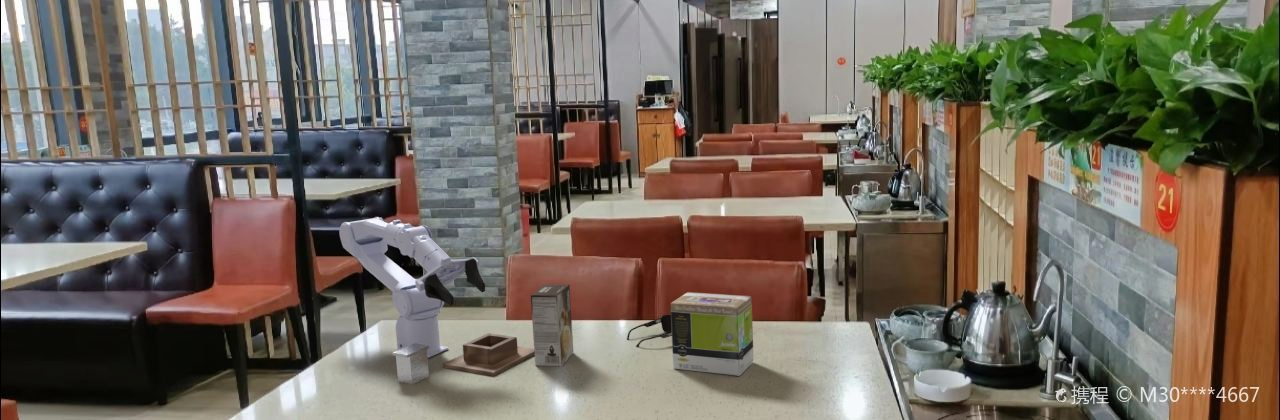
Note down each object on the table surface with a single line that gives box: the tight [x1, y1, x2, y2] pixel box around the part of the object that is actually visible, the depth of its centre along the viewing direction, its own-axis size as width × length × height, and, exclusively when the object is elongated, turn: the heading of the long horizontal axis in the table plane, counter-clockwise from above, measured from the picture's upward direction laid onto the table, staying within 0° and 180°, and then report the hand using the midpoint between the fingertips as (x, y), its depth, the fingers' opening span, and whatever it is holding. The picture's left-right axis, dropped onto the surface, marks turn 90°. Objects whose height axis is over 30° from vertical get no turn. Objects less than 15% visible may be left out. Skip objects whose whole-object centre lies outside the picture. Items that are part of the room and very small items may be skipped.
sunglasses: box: [626, 313, 672, 348], centre depth 203 cm, size 10×12×5 cm
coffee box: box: [530, 284, 574, 367], centre depth 191 cm, size 9×6×16 cm
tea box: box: [670, 291, 754, 377], centre depth 183 cm, size 15×10×15 cm
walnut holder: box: [442, 332, 535, 377], centre depth 193 cm, size 14×16×4 cm
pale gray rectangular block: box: [392, 343, 430, 385], centre depth 183 cm, size 4×7×7 cm, turn 151°
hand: (468, 294), depth 183 cm, fingers open, 7 cm apart
